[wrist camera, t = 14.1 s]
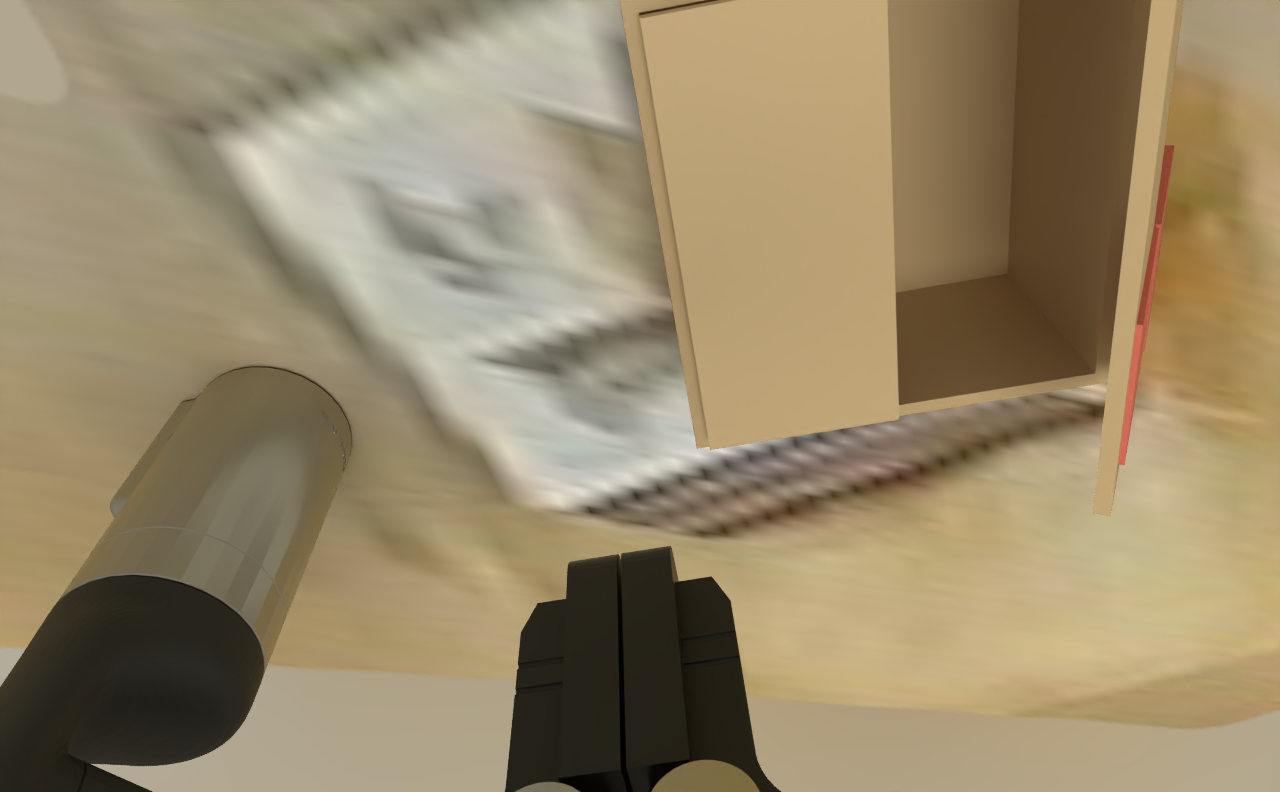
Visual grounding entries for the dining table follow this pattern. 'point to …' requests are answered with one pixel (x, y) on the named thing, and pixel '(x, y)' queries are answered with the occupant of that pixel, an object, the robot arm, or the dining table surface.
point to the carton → (886, 200)
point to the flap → (1139, 244)
